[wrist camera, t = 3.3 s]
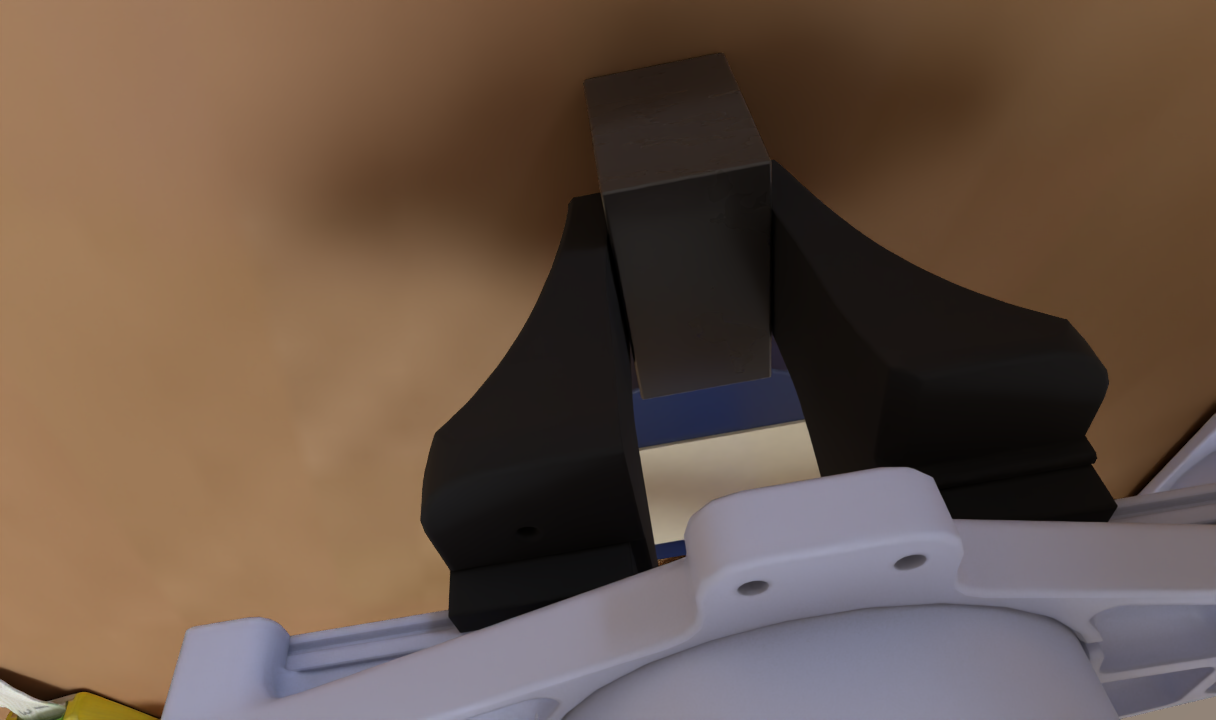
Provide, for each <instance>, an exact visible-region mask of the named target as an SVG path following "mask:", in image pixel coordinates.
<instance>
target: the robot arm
mask: <svg viewBox="0 0 1216 720" xmlns="http://www.w3.org/2000/svg"><path fill="white" fill-rule="evenodd" d="M771 162H772V334H773V336H774V339H775V341H776V343H777V346H778V348H779V350H780V353H781V355H782V357H783V360H784V362H785V365H786V367H787V369H788V372H789V374H790V376H791V379H792V381H793V384H794V387H795V390H796V392H797V395H798V398H799V401H800V405H801V408H802V411H803V415H804V418H805V422H806V425H807V429H808V432H809V435H810V439H811V443H812V446H813V450H814V453H815V457H816V461H817V464H818V468H819V471H820V475H821V477H820V478H814V479H808V480H802V481H797V482H791V483H785V484H779V485H773V486H767V487H761V488H755V489H749V490H744V491H739V492H736V493H733V494H730V495H726V496H723V497H720V498H717V499H714V500H712V501H711V502H709V503H708V504H706V505H705V506H704V507H702V508H701V509H700V510H698V511H697V512H696V513H694V514H693V515H692V516H691V517H690V518H689V521H688V524H687V527H686V530H685V533H684V540H685V546H686V557H684V558H681V559H679V560H676V561H673V562H670V563H667V564H664V565H662V566H659V567H658V561H657V555H656V549H655V543H654V537H653V531H652V525H651V519H650V513H649V507H648V501H647V495H646V489H645V483H644V477H643V471H642V465H641V459H640V453H639V446H638V440H637V434H636V428H635V419H634V410H633V394H632V377H631V360H630V343H629V335H628V330H627V325H626V320H625V315H624V309H623V304H622V299H621V294H620V289H619V284H618V279H617V274H616V269H615V264H614V259H613V254H612V249H611V244H610V239H609V234H608V229H607V224H606V219H605V214H604V209H603V204H602V199H601V193H596V194H591V195H585V196H580V197H575V198H573V199H572V200H571V201H570V203H569V204H568V213H567V218H566V223H565V227H564V231H563V234H562V238H561V241H560V245H559V248H558V251H557V253H556V256H555V259H554V262H553V265H552V268H551V270H550V273H549V275H548V278H547V280H546V282H545V285H544V287H543V289H542V291H541V294H540V296H539V298H538V300H537V302H536V304H535V306H534V308H533V310H532V312H531V314H530V316H529V318H528V320H527V322H526V323H525V325H524V327H523V329H522V330H521V332H520V334H519V335H518V337H517V338H516V340H515V341H514V343H513V344H512V346H511V348H510V349H509V351H508V352H507V354H506V355H505V357H504V358H503V359H502V361H501V362H500V364H499V365H498V366H497V368H496V369H495V370H494V372H493V373H492V374H491V375H490V376H489V378H488V379H487V380H486V381H485V382H484V384H483V385H482V386H481V387H480V388H479V390H478V391H477V392H476V393H475V394H474V396H473V397H472V398H471V399H470V400H469V401H468V402H467V403H466V404H465V405H464V406H463V407H462V408H461V409H460V410H459V411H458V412H457V413H456V414H455V415H454V416H453V417H452V418H451V419H450V420H449V421H448V422H447V423H446V424H445V425H444V426H442V427H441V428H440V429H439V430H438V431H437V432H436V433H435V435H434V438H433V441H432V445H431V448H430V452H429V456H428V460H427V465H426V468H425V473H424V479H423V488H422V504H421V519H420V521H421V523H422V526H423V529H424V531H425V533H426V535H427V536H428V538H429V539H430V541H431V542H432V544H433V545H434V547H435V548H436V550H437V551H438V553H439V554H440V556H441V557H442V559H443V560H444V562H445V563H446V565H447V566H448V568H449V569H450V590H449V610H444V611H438V612H432V613H426V614H420V615H414V616H408V617H402V618H396V619H390V620H384V621H378V622H372V623H366V624H360V625H354V626H348V627H342V628H335V629H329V630H323V631H317V632H311V633H305V634H299V635H293V636H290V635H289V634H288V633H287V631H286V630H285V629H284V628H283V627H282V626H281V625H280V624H279V623H277V622H275V621H273V620H271V619H268V618H262V617H248V618H242V619H236V620H230V621H224V622H218V623H212V624H206V625H200V626H194V627H191V628H190V629H188V630H187V631H186V633H185V636H184V640H183V643H182V647H181V650H180V653H179V657H178V660H177V664H176V667H175V671H174V674H173V678H172V681H171V685H170V688H169V692H168V695H167V699H166V702H165V706H164V709H163V713H162V716H161V720H1120V719H1123V718H1127V717H1131V716H1136V715H1140V714H1144V713H1148V712H1152V711H1156V710H1161V709H1165V708H1169V707H1173V706H1178V705H1182V704H1186V703H1190V702H1195V701H1199V700H1203V699H1207V698H1211V697H1215V696H1216V413H1215V414H1214V415H1213V416H1212V417H1211V418H1210V419H1209V420H1208V421H1207V422H1206V423H1205V424H1204V425H1203V426H1202V427H1201V428H1200V430H1199V431H1198V432H1197V433H1196V434H1195V435H1194V436H1193V437H1192V438H1191V439H1190V440H1189V441H1188V442H1187V443H1186V444H1185V445H1184V446H1183V448H1182V449H1181V450H1180V451H1179V452H1178V453H1177V454H1176V455H1175V456H1174V457H1173V458H1172V459H1171V460H1170V461H1169V462H1168V463H1167V464H1166V466H1165V467H1164V468H1163V469H1162V470H1161V471H1160V472H1159V473H1158V474H1157V475H1156V476H1155V477H1154V478H1153V479H1152V480H1151V481H1150V482H1149V483H1148V485H1147V486H1146V487H1145V488H1144V489H1143V490H1142V491H1141V492H1140V493H1139V494H1138V495H1137V496H1133V497H1127V498H1121V499H1115V500H1114V499H1113V497H1112V496H1111V494H1110V493H1109V491H1108V490H1107V488H1106V487H1105V485H1104V483H1103V482H1102V480H1101V479H1100V477H1099V476H1098V474H1097V473H1096V471H1095V469H1094V468H1093V466H1092V465H1091V464H1094V463H1095V461H1096V459H1097V456H1096V452H1095V450H1094V449H1093V447H1092V446H1091V444H1090V443H1089V441H1088V440H1087V438H1086V437H1085V435H1086V433H1087V431H1088V429H1089V427H1090V425H1091V423H1092V421H1093V419H1094V417H1095V415H1096V413H1097V411H1098V409H1099V407H1100V405H1101V403H1102V401H1103V399H1104V397H1105V394H1106V391H1107V388H1108V385H1109V379H1108V373H1107V369H1106V368H1105V367H1104V365H1103V364H1102V363H1101V361H1100V360H1099V358H1098V357H1097V356H1096V354H1095V353H1094V351H1093V350H1092V349H1091V347H1090V346H1089V345H1088V343H1087V342H1086V341H1085V339H1084V338H1083V337H1082V336H1081V335H1080V334H1079V333H1078V331H1077V330H1076V329H1075V328H1074V327H1073V326H1072V325H1071V323H1070V322H1069V321H1068V320H1067V319H1063V318H1059V317H1055V316H1052V315H1048V314H1044V313H1041V312H1037V311H1033V310H1030V309H1026V308H1022V307H1018V306H1015V305H1012V304H1008V303H1005V302H1003V301H1000V300H997V299H994V298H991V297H988V296H985V295H982V294H980V293H977V292H974V291H972V290H969V289H967V288H964V287H961V286H959V285H957V284H954V283H952V282H950V281H948V280H945V279H943V278H941V277H939V276H936V275H934V274H932V273H930V272H928V271H926V270H924V269H922V268H920V267H918V266H916V265H914V264H912V263H910V262H908V261H906V260H905V259H903V258H901V257H899V256H898V255H896V254H894V253H892V252H890V251H889V250H887V249H885V248H884V247H882V246H880V245H879V244H877V243H876V242H874V241H873V240H871V239H870V238H868V237H867V236H865V235H864V234H862V233H861V232H860V231H858V230H857V229H855V228H854V227H853V226H851V225H850V224H849V223H847V222H846V221H845V220H843V219H842V218H841V217H840V216H838V215H837V214H836V213H835V212H833V211H832V210H831V209H830V208H828V207H827V206H826V205H825V204H823V203H822V202H821V201H820V200H819V199H818V198H816V197H815V196H814V195H813V194H812V193H811V192H810V191H808V190H807V189H806V188H805V187H804V186H803V185H802V184H801V183H800V182H798V181H797V180H796V179H795V178H794V177H793V176H792V175H791V174H790V173H789V172H788V171H787V170H786V169H784V168H783V167H782V166H781V165H780V164H779V163H778V162H776V161H775V160H771Z"/></svg>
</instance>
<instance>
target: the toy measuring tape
mask: <svg viewBox="0 0 1216 720" xmlns="http://www.w3.org/2000/svg"><path fill="white" fill-rule="evenodd" d="M0 707H6V708H8V709H10V710H11V712H10V713H9V714H8V716H7V718H6V720H160V719H157V718H155V717H152V716H150V715H147V714H145V713H142V712H140V711H137V710H134V709H132V708H129V707H127V706H124V705H121V704H119V703H116V702H113V701H110V700H108V699H105V698H102V697H100V696H97V695H94V694H91V693H88V692H80V693H77V694H72V695H68V696H65V697H62V698H58V699H54V700H50V701H42V700H38V699H36V698H33V697H31V696H29V695H27V694H26V693H24V692H22V691H19V690H17V689H15V688H13V687H12V686H10V685H9V684H7V683H6V682H4V681H3V680H1V679H0Z"/></svg>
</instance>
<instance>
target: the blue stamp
mask: <svg viewBox="0 0 1216 720" xmlns="http://www.w3.org/2000/svg"><path fill="white" fill-rule="evenodd" d="M583 85H584V91H585V98H586V104H587V110H588V117H589V123H590V129H591V136H592V142H593V149H594V155H595V161H596V168H597V174H598V181H599V187H600V193H601V199H602V204H603V209H604V214H605V219H606V224H607V229H608V234H609V239H610V244H611V249H612V254H613V259H614V264H615V269H616V274H617V279H618V284H619V289H620V294H621V299H622V304H623V309H624V315H625V320H626V325H627V330H628V335H629V343H630V360H631V377H632V394H633V410H634V419H635V428H636V434H637V440H638V446H639V453H640V459H641V465H642V471H643V477H644V483H645V489H646V495H647V501H648V507H649V513H650V519H651V525H652V531H653V537H654V543H655V549H656V555H657V560H658V559H664V558H670V557H676V556H682V555H686V546H685V540H684V533H685V530H686V527H687V524H688V521H689V518H690V517H691V516H692V515H693V514H694V513H696V512H697V511H698V510H700V509H701V508H702V507H704V506H705V505H706V504H708V503H709V502H711V501H712V500H714V499H717V498H720V497H723V496H726V495H730V494H733V493H736V492H739V491H744V490H749V489H755V488H761V487H767V486H773V485H779V484H785V483H791V482H797V481H802V480H808V479H814V478H820V477H821V475H820V471H819V468H818V464H817V461H816V457H815V453H814V450H813V446H812V443H811V439H810V435H809V432H808V429H807V425H806V422H805V418H804V415H803V411H802V408H801V405H800V401H799V398H798V395H797V392H796V390H795V387H794V384H793V381H792V379H791V376H790V374H789V372H788V369H787V367H786V365H785V362H784V360H783V357H782V355H781V353H780V350H779V348H778V346H777V343H776V341H775V339H774V336H773V334H772V162H771V159H770V157H769V155H768V152H767V150H766V148H765V146H764V143H763V141H762V139H761V137H760V134H759V132H758V130H757V127H756V125H755V123H754V121H753V118H752V116H751V114H750V112H749V109H748V107H747V105H746V102H745V100H744V98H743V96H742V93H741V91H740V89H739V87H738V84H737V82H736V80H735V77H734V75H733V73H732V71H731V68H730V66H729V64H728V62H727V59H726V57H725V55H724V53H718V54H713V55H708V56H703V57H698V58H693V59H688V60H683V61H678V62H673V63H667V64H662V65H657V66H652V67H647V68H642V69H637V70H632V71H627V72H622V73H617V74H612V75H607V76H602V77H597V78H592V79H587V80H585V81H584V83H583Z"/></svg>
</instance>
